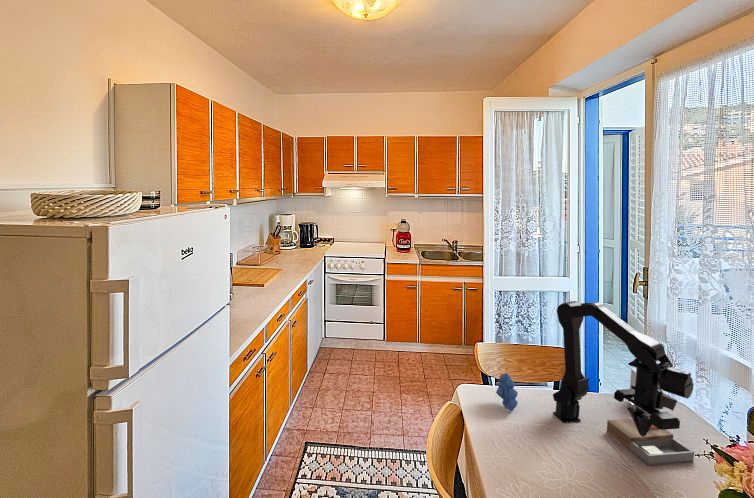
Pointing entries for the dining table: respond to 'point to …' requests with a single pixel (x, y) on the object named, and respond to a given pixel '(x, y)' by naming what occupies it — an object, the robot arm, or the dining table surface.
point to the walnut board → (632, 432)
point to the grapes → (507, 391)
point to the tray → (669, 447)
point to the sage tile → (651, 449)
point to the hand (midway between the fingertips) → (642, 435)
